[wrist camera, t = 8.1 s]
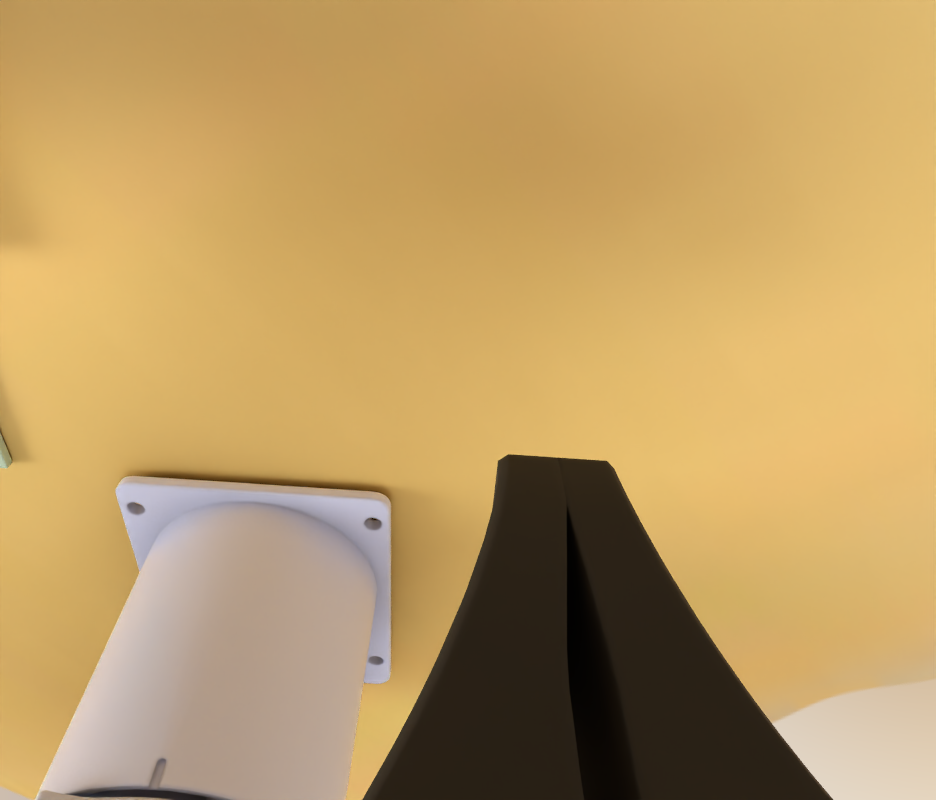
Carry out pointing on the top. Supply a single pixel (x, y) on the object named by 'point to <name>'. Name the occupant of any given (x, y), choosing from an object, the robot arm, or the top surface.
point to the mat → (4, 454)
